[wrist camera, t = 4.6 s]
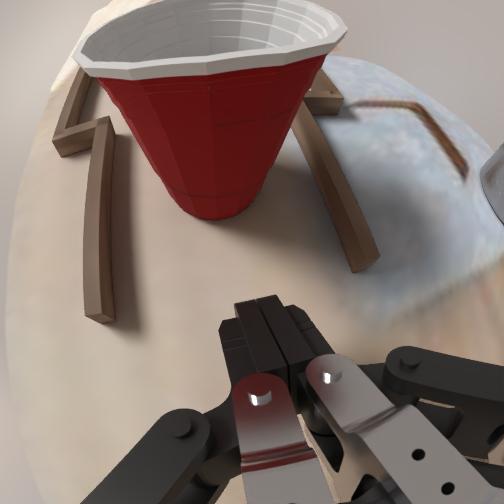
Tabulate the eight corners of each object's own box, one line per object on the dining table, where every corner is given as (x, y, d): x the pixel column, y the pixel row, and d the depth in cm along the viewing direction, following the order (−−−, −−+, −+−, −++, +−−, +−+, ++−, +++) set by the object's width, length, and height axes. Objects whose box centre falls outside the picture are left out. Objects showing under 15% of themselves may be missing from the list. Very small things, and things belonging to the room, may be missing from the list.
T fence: (282, 40, 29) (284, 27, 27) (412, 257, 18) (428, 244, 16) (89, 67, 25) (85, 54, 23) (46, 330, 14) (28, 323, 12)
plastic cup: (209, 111, 22) (208, -25, 11) (322, 178, 20) (383, 24, 9) (103, 193, 18) (34, 43, 7) (219, 295, 16) (205, 110, 5)
